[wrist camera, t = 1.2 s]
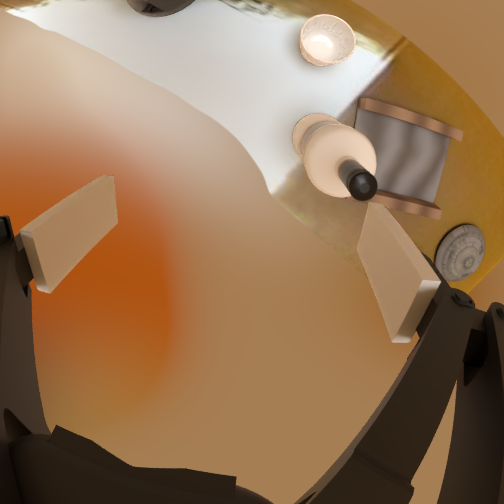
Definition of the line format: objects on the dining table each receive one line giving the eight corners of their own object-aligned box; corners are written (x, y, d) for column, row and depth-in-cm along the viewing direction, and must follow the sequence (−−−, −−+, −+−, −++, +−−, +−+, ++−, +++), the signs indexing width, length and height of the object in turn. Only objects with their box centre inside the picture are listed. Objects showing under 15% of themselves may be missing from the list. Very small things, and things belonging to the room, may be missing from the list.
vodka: (282, 126, 48) (288, 161, 22) (329, 104, 45) (392, 114, 19) (307, 171, 52) (335, 254, 26) (352, 150, 49) (426, 213, 23)
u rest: (340, 190, 53) (346, 199, 48) (358, 97, 44) (366, 97, 39) (428, 210, 52) (439, 219, 48) (450, 127, 43) (463, 131, 39)
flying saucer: (485, 218, 51) (497, 228, 47) (476, 271, 58) (486, 284, 54) (435, 226, 54) (446, 238, 49) (430, 282, 61) (438, 296, 56)
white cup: (348, 42, 39) (364, 31, 30) (330, 77, 43) (342, 72, 34) (307, 22, 38) (313, 5, 29) (288, 57, 41) (291, 47, 33)
